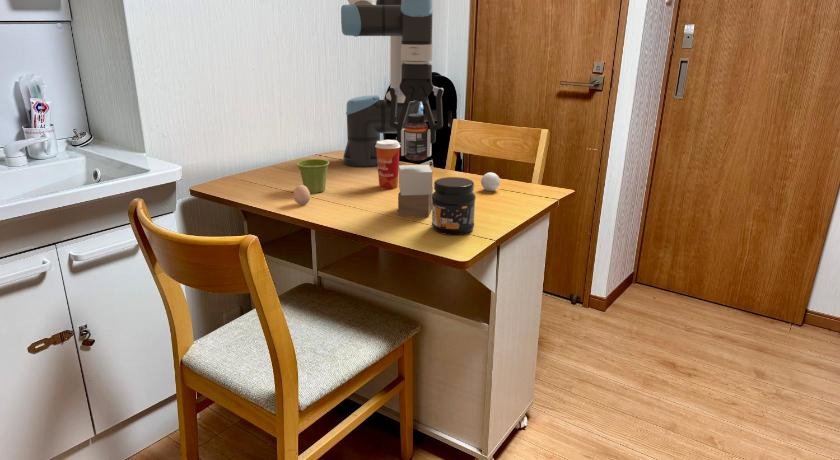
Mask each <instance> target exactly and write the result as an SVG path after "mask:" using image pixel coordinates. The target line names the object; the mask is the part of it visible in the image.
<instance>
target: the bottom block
mask: <svg viewBox="0 0 840 460" xmlns="http://www.w3.org/2000/svg"><path fill="white" fill-rule="evenodd" d="M433 189H434V187H432V194H433V193H434V191H433ZM397 196H398V197H397V198H398V200H397V211H398V212H397V215H398V217H412V216H413V217H415V218H429V217H430V215H431V214H432V195H401V192H400V191H399V192H398V194H397Z"/></svg>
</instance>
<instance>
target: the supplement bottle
mask: <svg viewBox="0 0 840 460" xmlns="http://www.w3.org/2000/svg"><path fill="white" fill-rule="evenodd" d="M408 120H409V121H408V122H407V124H406V125H405V155H404V157H405V159H407V160H409V161H414V162H415V161H424V160H427V159H428V157H427V131H428V130H429V127H428V126H429V124H428V123H426V122H425V115H424V113H423V114H409V115H408Z"/></svg>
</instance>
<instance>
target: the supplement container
mask: <svg viewBox="0 0 840 460" xmlns="http://www.w3.org/2000/svg"><path fill="white" fill-rule="evenodd" d="M433 182H434V183H433V189H434V191H433V194H432V210H431V215H432V216H431V220H432V221H431V227H432V229H433V230H434V231H436V232H437V233H439V234H442V233H443V235H448V234H449V235H448V236H459V234H461V235H465V234H467V233H470V232H471V231H473V229H474V227H475V211H476V210H475V208H476V194H475V193H474V191H475V190H474V189H475V183H474V181H473V180H472V179H469V178H465V177H457V176H450V177H449V176H448V177H442V178H438V179H436V180H435V181H433Z"/></svg>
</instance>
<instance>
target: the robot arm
mask: <svg viewBox="0 0 840 460" xmlns="http://www.w3.org/2000/svg"><path fill="white" fill-rule="evenodd" d="M347 2H348V4H342V5H341V7H340V22H341V23H340V24H341V25H340V26H341V33H342V35H343V36H348V37H349V36H350V37H390V38H389V39H390V40H389V41H390V42H389V43H390V44H389V45H390V46H389V47H390V48H389V49H390V55H389V56H390V57H389V58H390V59H389V60H390V61H389V62H390V64H389V65H390V67H389V68H390V70H389V71H390V72H389V73H390V74H389V75H390V77H389V78H390V80H389V81H390V83H389V87H390V88H389V90H388V92H387V93H386V94H385V99H381V97H380V95H378V94H377V95H376V94H374V95H370V94H369V95H364V96H363V95H362V96H358V97H357V96H356V97H353V98H351V99H349V100H348V101H347V102H346V113H345V115H346V135H347V137H346V138H347V141H346V145H345V149H344V152H343V156H342V158H343V159H342V160H343V164H344V165H346V166H349V167H358V168H359V167H360V168H361V167H364V168H367V167H378V163H377V150H376V147H375V145H376V143H377V141H381V134H396V141H398V142H399V143H400V146H401V147H400V156H401V157H405V125H406V124H407V122H408V121H409V120H408V115H409V114H423V115H424V114H425V116H426V119H427V125H428V126H429V127H428V128H429V129H428V131H427V158H430V157H431V156H432V144H435V143H436V141H437V140H436V139H437V138H436V136H437V135H436V134H437V133H436V132H437V130H440V129H442V128H443V125H444V117H443V98H442V97H443V94H444V90H445V89H444V88H443V87H438V86H435V85H434V84H433V79H432V75H433V73H432V72H433V65H432V63H430V62H432V60H433V16H434V15H433V13H434V8H433V7H434V6H433V0H347ZM432 92H433V95H434V96H435V107H436V122H435V118H434V116H433V113H432V109H431V104H430V103H429V102H430V101H429V97H428V96H430V95H431V93H432Z"/></svg>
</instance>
